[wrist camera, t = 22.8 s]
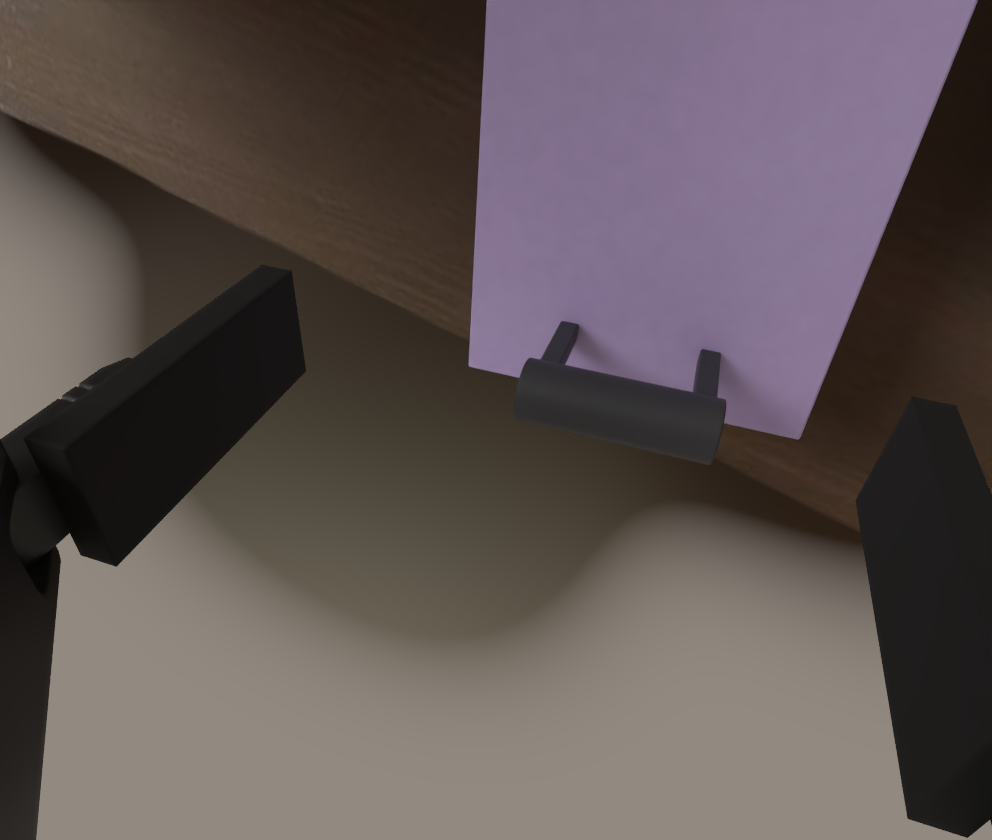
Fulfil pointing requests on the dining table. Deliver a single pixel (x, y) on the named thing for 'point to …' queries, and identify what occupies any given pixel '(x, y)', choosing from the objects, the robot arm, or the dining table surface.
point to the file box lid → (689, 202)
